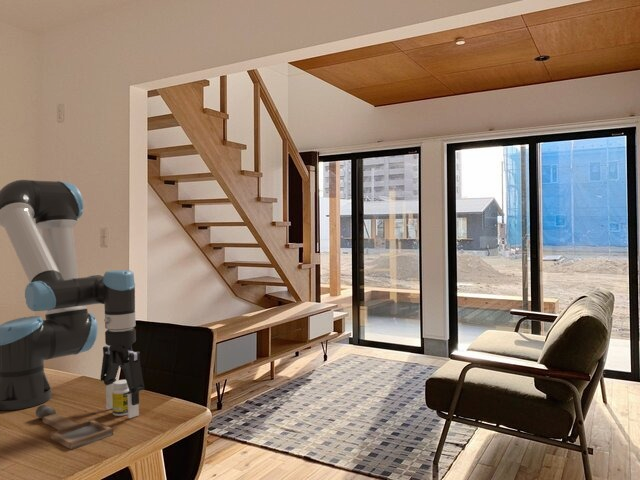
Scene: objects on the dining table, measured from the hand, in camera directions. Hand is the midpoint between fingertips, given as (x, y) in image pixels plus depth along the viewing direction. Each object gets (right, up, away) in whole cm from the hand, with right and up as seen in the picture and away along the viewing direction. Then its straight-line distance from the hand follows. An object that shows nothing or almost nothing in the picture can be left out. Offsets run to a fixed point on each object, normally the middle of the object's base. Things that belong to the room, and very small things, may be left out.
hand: (122, 412), depth 133 cm
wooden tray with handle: (-10, -1, -10) cm, 14 cm away
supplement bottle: (0, 0, 0) cm, 0 cm away
